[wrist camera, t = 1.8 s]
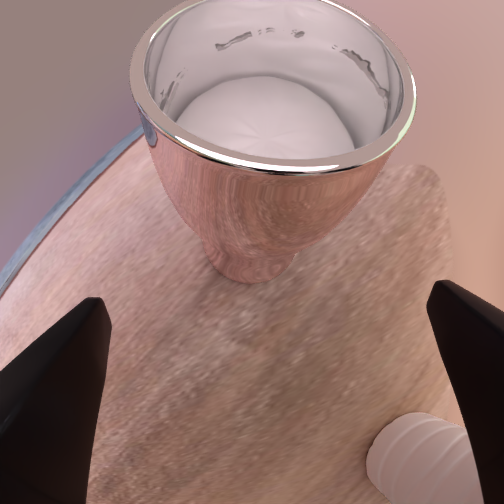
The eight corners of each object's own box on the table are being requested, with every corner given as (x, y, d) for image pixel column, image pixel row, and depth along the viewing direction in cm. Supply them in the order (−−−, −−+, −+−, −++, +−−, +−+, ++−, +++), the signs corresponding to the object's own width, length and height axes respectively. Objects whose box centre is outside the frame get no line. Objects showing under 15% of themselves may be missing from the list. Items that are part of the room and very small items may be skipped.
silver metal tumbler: (199, 295, 19) (98, 205, 5) (193, 191, 21) (140, -8, 6) (311, 285, 20) (467, 185, 5) (296, 183, 21) (370, -7, 7)
